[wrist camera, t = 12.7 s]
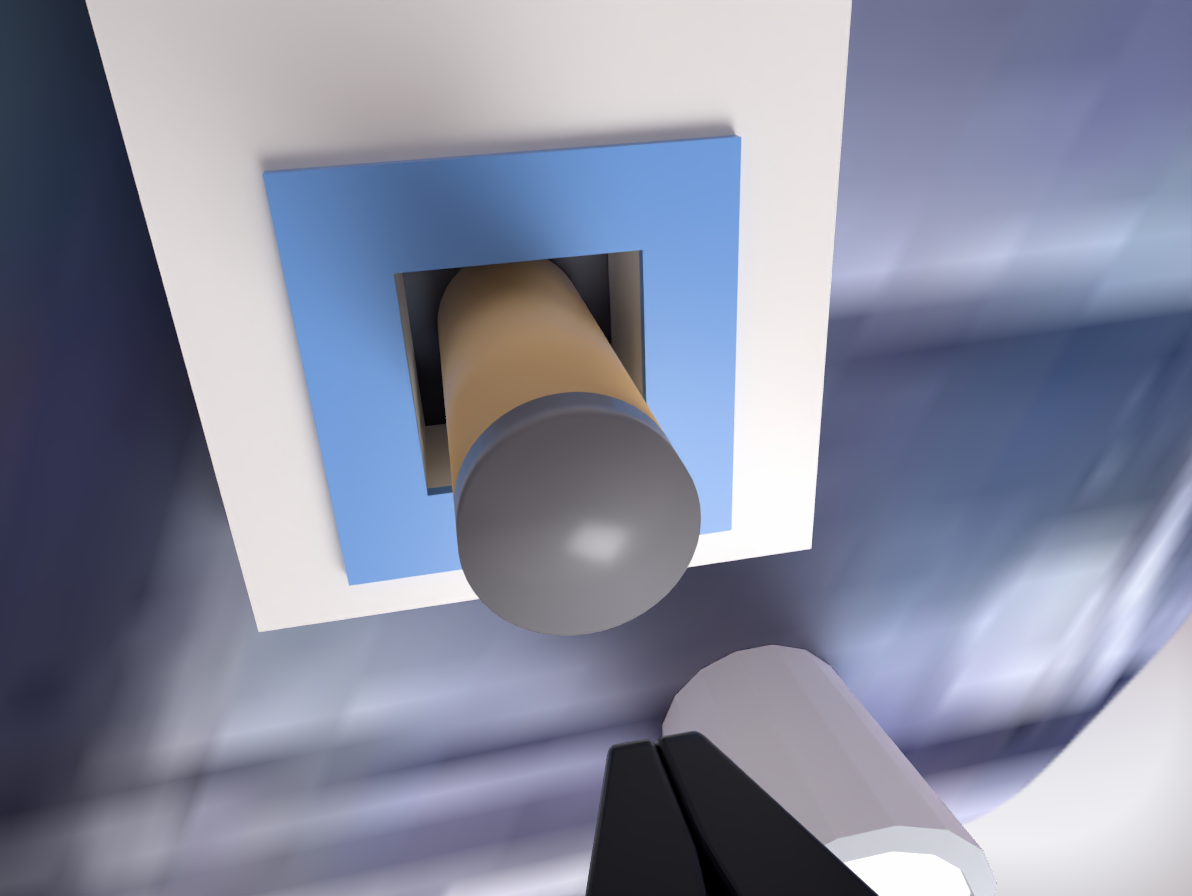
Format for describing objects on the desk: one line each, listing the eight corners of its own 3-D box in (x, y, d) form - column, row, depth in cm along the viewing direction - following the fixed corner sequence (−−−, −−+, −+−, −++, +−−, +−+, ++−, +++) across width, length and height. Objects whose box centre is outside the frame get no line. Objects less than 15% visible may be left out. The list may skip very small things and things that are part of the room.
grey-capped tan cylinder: (447, 397, 20) (472, 652, 12) (428, 257, 18) (441, 439, 10) (586, 381, 20) (700, 616, 12) (578, 243, 19) (701, 407, 11)
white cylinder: (874, 760, 28) (1006, 972, 22) (669, 833, 28) (745, 1070, 21) (846, 594, 25) (992, 788, 18) (614, 676, 24) (684, 900, 18)
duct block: (278, 553, 21) (256, 641, 18) (-95, -944, 11) (-281, -1297, 8) (763, 485, 22) (816, 555, 20) (822, -854, 13) (947, -1116, 10)
